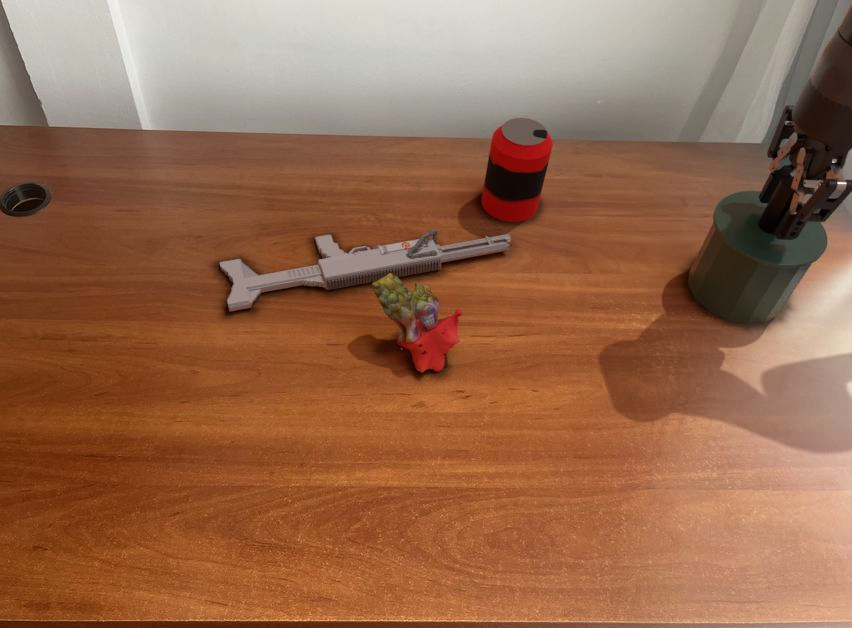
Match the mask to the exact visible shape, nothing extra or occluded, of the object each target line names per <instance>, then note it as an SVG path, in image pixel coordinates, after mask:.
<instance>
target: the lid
mask: <svg viewBox="0 0 852 628" xmlns="http://www.w3.org/2000/svg"><path fill="white" fill-rule="evenodd" d="M794 176H795V175H791V176H786V177H783V178H782V179H781V181H780V183H779V185H778V186H777V188H776V190H775V192H774V194H773V195H772V197H771V199H770V201H769V203H761V202H760V200H759V195H760V193H761V191H762V190H761V191H760V190H745V191H744V190H743V191H738V192H734V193H731V194H728V195H726V196H725V197H723V198H722V199H721V200H720V201H719V202H718V203H717V205H716V206H715V208H714V211H713V214H712V221H713V223H714V227H715V229H716V231H717V233H718V234H719V236H720V237H721V239H722V240H723V241H724V242H725V243H726V244H727V245H728V246H729V247H730V248H732V249H733V250H734V251H736V252H737V253H739V254H740V255H742V256H744V257H746V258H748V259H750V260H752V261H755V262H758V263H761V264H764V265H768V266H772V267H778V268H798V267H803V266H807V265H809V264H811V265H812V264H814V263H815V262H817V261H819V259H820V258H821V257H822V256H823V255H824V253H826V250H827V248H828V235H827V232H826V228H825V227H824V225H823V223H822V222H807V223H806V224H805V226H804V228H803V229H802V231H801V232H800V234H799V236H798V237H797V238H796V239H793V240H781V239H777V238H776V235H775V231H776V229H777V227H778V226H779V224H780V222H781V220H782V219H783V217H784V215H785V214H786V212H787V210H788V209H790V205H791V202H792V198H793V195H794V191H793V190H792V189H791V186H792V182H793V179H794ZM804 184H807V182H805V181H804ZM713 223H712V224H713Z"/></svg>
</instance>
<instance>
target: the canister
mask: <svg viewBox="0 0 852 628" xmlns="http://www.w3.org/2000/svg"><path fill="white" fill-rule="evenodd" d="M811 266H812V264H809V265H807V266H803V267H798V268H778V267H772V266H768V265H764V264H761V263H758V262H755V261H752V260H750V259H748V258H746V257H744V256H742V255H740V254H739V253H737V252H736V251H734V250H733V249H732V248H730V247H729V246H728V245H727V244H726V243H725V242H724V241H723V240H722V239H721V237H720V236H719V234H718V233H717V231H716V229H715V227H714V223H712V224H711V227H710V229H709V231H708V232H707V235H706V237H705V239H704V241H703V243H702V244H701V247H700V248H699V250H698V253H697V254H696V257H695V259H694V260H693V263H692V265H691V267H690V269H689V271H688V281H687V284H688V285H687V286H688V287H689V290H690V292H691V293H692V296H693V298H694V299H695V301H696V302H698V303H699V304H700V305H701V306H702V307H703V308H704V309H705V310H707V311H708V312H710V313H712V314H713V315H715V316H717V317H719V318H721V319H723V320H725V321H729V322H733V323H736V324H737V323H738V324H741V325H756V324H764V323H767V322H769V321H771V320H773V319H775V318H777V317H778V316H779V314H780V312H781V311H782V310H783V308H784V306H785V305H786V303H788V300H789V299H790V297H791V296H792V294H793V293H794V291H795V290H796V288H797V287H798V286H799V284H800V282H801V281H802V279H803V278H804V276H805V274H807V272H808V270H809V269H810V267H811Z"/></svg>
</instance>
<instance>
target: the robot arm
mask: <svg viewBox="0 0 852 628" xmlns="http://www.w3.org/2000/svg"><path fill="white" fill-rule="evenodd" d="M783 140H787V141H786V143H785V144H783V146H781V144H782V142H783ZM851 150H852V2H851V3H850V4H849V6H848V8H847V10H846V12H845V14H844V16H843V18H842V20H841V21H840V24H839V26H838V28H837V29H836V31H835V32H834V33H833V35H832V36H831V38H830V40H829V41H828V42H827V44H826V45H825V47H824V49H823V50H822V52H821V54H820V56H819V58H818V59H817V62H816V63H815V65H814V68H813V70H812V71H811V73H810V75H809V77H808V79H807V81H806V83H805V85H804V87H803V88H802V91H801V92H800V94H799V96H798V99H797V100H796V102H795V104H792V105H791V104H787V105H785V106H784V108H783V111H782V113H781V116H780V118H779V121H778V123H777V126H776V129H775V131H774V133H773V136H772V139H771V141H770V144H769V146H768V149H767V152H766V154H767V155H766V156H767V158H769V159H772V161H771V162H770V165H769V173H770V174H769V175H768V178H767V179H766V181H765V183H764V185H763V187H762V189H761V193H760V195H759V200H760V202H761V203H769V201H770V199H771V197H772V195H773V194H774V192H775V190H776V188H777V186H778V185H779V183H780V181H781V179H782V178H783V177H786V176H792V174H794V175H793V176H794V179H793V182H792V186H791V189H792V190H793V191H794V195H793V198H792V202H791V205H790V209H788V210H787V212H786V214H785V215H784V217H783V219H782V220H781V222H780V224H779V226H778V227H777V229H776V231H775V235H776V238H777V239H781V240H793V239H796V238H797V237H798V236H799V234H800V232H801V231H802V229H803V228H804V226H805V224H806V223H807V222H821V223H825V222H826V221H827V220H828V219H829V218H830V217H831V216H832V215H833V213H834V212H836V210H837V209H838V208H839V207H840V206H841V204H842V203H843V202H844V201H845V200H846V199H847V197H848V196H849V195H850V194H851V193H852V179H845V177H844V174H843V172H842V169H843V168H844V166H845V164H846V161H847V158H848V155H849V152H850V151H851ZM805 181H815V182H816V181H819V182H818V183H815V184H814V183H806V184H804V182H805ZM806 195H811V196H810V197H809V198H808V200H807V201H806V203H803V201H804V198H805V196H806Z"/></svg>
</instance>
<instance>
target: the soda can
mask: <svg viewBox="0 0 852 628" xmlns="http://www.w3.org/2000/svg"><path fill="white" fill-rule="evenodd" d="M490 141H491V143H490V147H489V153H488V160H487V165H486V172H485V176H484V183H483V189H482V194H481V205H482V208H483V210H484V211H485V212H486V213H487V214H488V215H490V216H491V217H493V218H494V219H496V220H500V221H503V222H508V223H517V222H518V223H519V222H524V221H527V220H529V219H531V218H532V217H533V216H534V215H535V214H536V212H537V210H538V206H539V203H540V199H541V194H542V191H543V186H544V184H545V183H544V182H545V179H546V175H547V171H548V168H549V167H548V166H549V162H550V158H551V154H552V152H553V151H552V150H553V146H554V142H553V139H552V137H551V135H550V134H549V132H548V131H547V128H546V127H545V125H543V124H542V123H541V122H538V121H537V120H535V119H531V118H528V117H515V118H510V119H508V120H506V121H505V122H504V123H503V124H502V125H500V126H499V127H498V128H496V129H495V130H494V131H493V134H492V136H491V140H490Z"/></svg>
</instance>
